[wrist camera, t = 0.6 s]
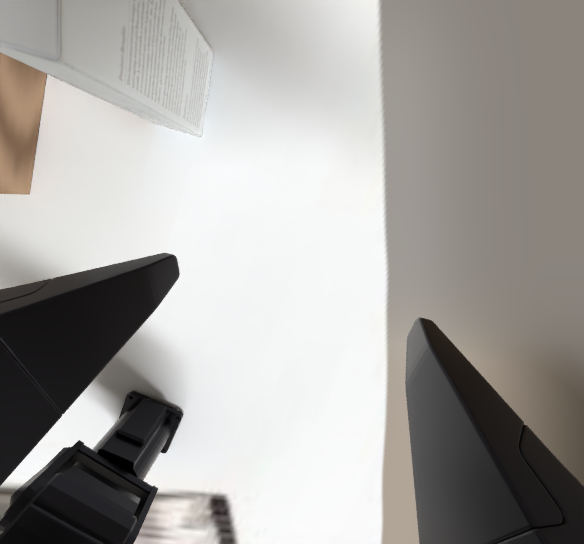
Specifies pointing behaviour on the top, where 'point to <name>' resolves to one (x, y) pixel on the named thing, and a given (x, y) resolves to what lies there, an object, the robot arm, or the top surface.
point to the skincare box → (117, 53)
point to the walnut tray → (19, 123)
